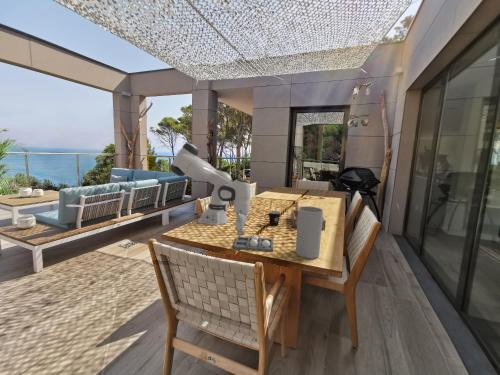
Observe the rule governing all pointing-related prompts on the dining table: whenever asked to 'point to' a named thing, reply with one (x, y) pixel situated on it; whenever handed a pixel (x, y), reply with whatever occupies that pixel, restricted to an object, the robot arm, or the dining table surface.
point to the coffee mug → (273, 218)
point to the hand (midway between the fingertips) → (241, 232)
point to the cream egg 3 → (266, 244)
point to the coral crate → (295, 219)
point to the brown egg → (242, 232)
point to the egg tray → (245, 244)
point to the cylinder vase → (309, 231)
